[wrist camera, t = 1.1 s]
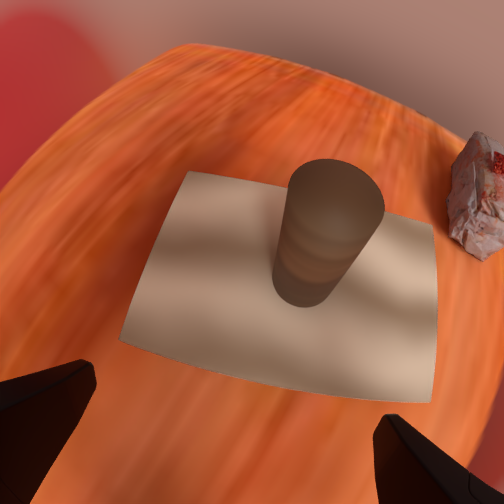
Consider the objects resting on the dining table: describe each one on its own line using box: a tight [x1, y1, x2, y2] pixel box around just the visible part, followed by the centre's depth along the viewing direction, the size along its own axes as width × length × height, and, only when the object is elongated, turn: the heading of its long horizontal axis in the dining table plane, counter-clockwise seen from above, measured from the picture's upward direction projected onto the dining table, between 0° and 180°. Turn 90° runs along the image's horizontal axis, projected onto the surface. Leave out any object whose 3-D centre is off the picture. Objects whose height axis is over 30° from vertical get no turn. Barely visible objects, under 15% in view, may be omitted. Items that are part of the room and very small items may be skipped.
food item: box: [446, 131, 504, 262], centre depth 23 cm, size 14×8×10 cm, turn 154°
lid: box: [118, 159, 438, 403], centre depth 14 cm, size 13×19×9 cm
